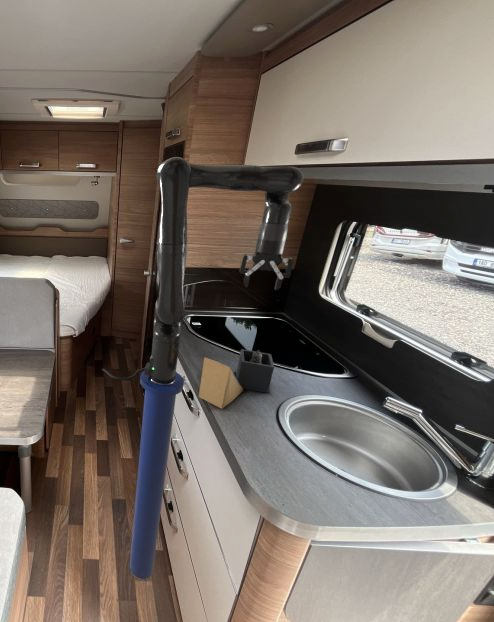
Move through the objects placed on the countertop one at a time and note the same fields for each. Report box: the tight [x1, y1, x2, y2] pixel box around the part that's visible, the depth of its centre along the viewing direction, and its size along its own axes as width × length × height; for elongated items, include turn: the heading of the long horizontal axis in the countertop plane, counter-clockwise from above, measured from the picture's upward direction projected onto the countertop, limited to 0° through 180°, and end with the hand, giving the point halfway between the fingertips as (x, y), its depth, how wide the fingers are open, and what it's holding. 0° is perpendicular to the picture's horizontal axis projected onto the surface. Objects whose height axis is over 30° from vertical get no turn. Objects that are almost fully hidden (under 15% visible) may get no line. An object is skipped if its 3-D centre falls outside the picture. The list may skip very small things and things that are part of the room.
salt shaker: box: [250, 349, 262, 364], centre depth 116 cm, size 6×6×12 cm
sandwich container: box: [198, 357, 244, 410], centre depth 110 cm, size 9×15×15 cm, turn 131°
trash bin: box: [235, 348, 275, 394], centre depth 117 cm, size 10×10×10 cm
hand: (260, 288), depth 109 cm, fingers open, 8 cm apart
